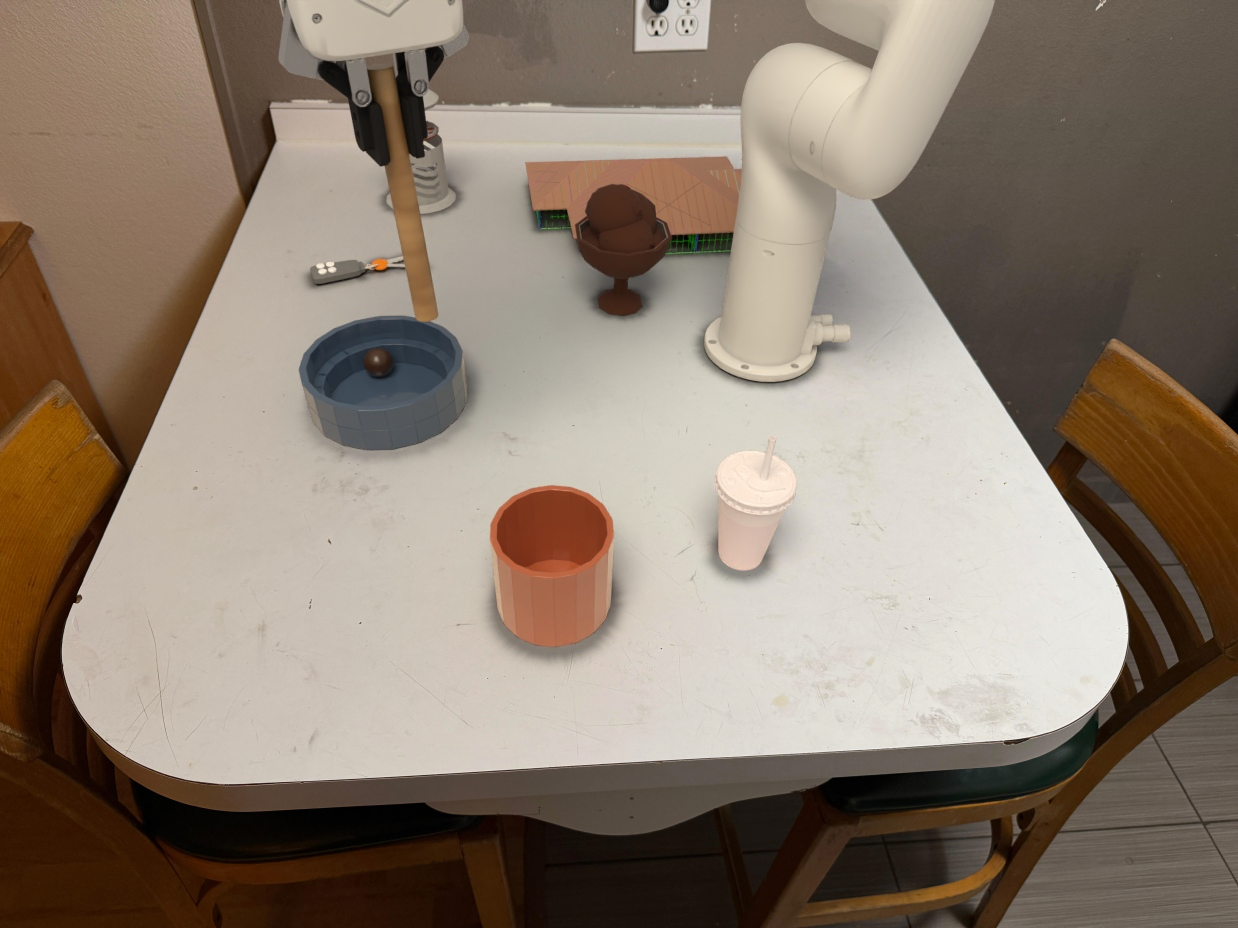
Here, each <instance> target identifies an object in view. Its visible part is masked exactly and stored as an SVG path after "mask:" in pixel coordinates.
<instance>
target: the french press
mask: <svg viewBox="0 0 1238 928" xmlns="http://www.w3.org/2000/svg"><path fill="white" fill-rule="evenodd" d="M439 97H440V96H439V94H437V93H436V92H434V91H433V90H431V89H430V88H429V90H428V92H427V94H426V95H424V96H423V100H424V108H425V112H426V111H428V110H431V109H433V108H434V107H435V106H437V104H439ZM426 124H427V131H428V137H427V139H423V142H425V143H427V144H429V145H430V146H432V147H434V148H430V147H429V146H427V145H426V144H424V151H425V157H423V158H418V159H417V158H415V157H413V156H412V155H410V154H409V155H410V160H411V166H415V165H416V166H420V167H423V168H419V167H416V168H414V167H412V171H413V177H414V182H415V188H416V193H417V199H418V204H419V210H420V215H424V214H432V213H436V212H437V213H438V212H440V211H444V210H445V209H447V208H449V207H451V206H452V205H453V204H454V202H455V201H456V200H457V195H456V192H455V191H454V190H453V189H452V188H450V187H449V185H448V179H447V178H448V177H447V170H446V161H445V152H444V145H443V144H444V143H443V138H442V137H441V135H440V134H438V133H439V129H440V127H439V126H438V125H437V124H435V123H434V122H432V121H429V120H426ZM435 165H436V166H437V167H435ZM425 168H428V169H429V170H431V171H428V170H427V169H425ZM437 175H438V176H437ZM386 204H387V205H388V206H389V207H390V208H391V210H393V205H392V200H391V195H390V192H389V193H388V195H387V196H386Z"/></svg>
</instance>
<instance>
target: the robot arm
mask: <svg viewBox="0 0 1238 928" xmlns="http://www.w3.org/2000/svg"><path fill="white" fill-rule="evenodd" d="M995 2H996V0H804V3H805V6H806V9H807V11H808V13H809V15H810V16H811V17H812V18H813V19H814V20H815V22H816V23H818V24H819V25H821V26H823V27H824V28H826V29H828V30H829V31H832V32H833V33H835V34H837V35H839V36H841V37H844V38H847V39H849V40H850V41H854V42H856V43H858V44H861V45H864V46H866V47H869V48H871V49H873V50H875V51H878V52H877V55H876V57H875V61H874V63H873V66H872V68H870V67H868V66H865V65H863V64H861V63H860V62H858V61H856V60H853V59H852V58H849V57H847V56H845V55H842V54H840V53H837V52H835V51H832V50H830V49H827V48H825V47H822V46H819V45H815V44H812V43H805V42H792V43H791V42H789V43H785V44H782V45H780V46H779V45H778V46H777V47H775V48H773V49H771V50H769V51H768V52H767V53H765V54H764V55H763V56H762V57H761V58H760V59H759V60H758V61H757V63H756V64H755V65H754V67H753V68H752V70H751V71H750V73H749V74H748V77H747V79H746V82H745V84H744V88H743V92H742V98H741V104H740V117H739V118H740V119H739V120H740V139H741V169H742V173H741V185H740V193H739V201H738V208H737V215H736V220H735V227H734V232H732V239H731V240H732V241H731V247H730V250H731V251H730V255H729V262H728V269H727V275H726V283H725V289H724V296H723V303H722V310H721V316H719V317H718V318H715V319H714V320H713V321H711V322H710V323H709V324H708V326H707V327H706V330H705V333H704V338H703V339H704V340H703V346H704V351H705V353H706V355H707V357H708V358H709V359H710V360H711V361H712V363H714V364H715V365H716V366H717V367H718V368H720V369H722V370H723V371H725V372H726V373H728V374H730V375H733V376H735V377H737V378H740V379H744V380H747V381H752V382H753V381H754V382H759V383H760V382H762V383H777V382H778V383H779V382H785V381H789V380H793V379H795V378H798V377H800V376H801V375H804V374H805V373H807V372H808V371H809V370H810V369H811V368H812V367H813V365H814V363H815V361H816V357H817V353H818V346H820V345H822V343H823V342H831V343H848V342H849V341H850V339H851V327H850V325H849V324H848V323H847V324H846V323H843V324H833V322H834V317H833V315H832V314H816V315H815V314H813V313H812V312H813V308H814V304H815V299H816V296H817V291H818V287H819V283H820V278H821V274H822V271H823V270H822V269H823V266H824V262H825V261H824V260H825V258H826V257H825V256H826V253H827V249H828V244H829V240H830V235H831V232H832V228H833V224H834V219H835V215H836V207H837V191H839V192H840V193H843V194H845V195H847V196H849V197H851V198H854V199H857V200H862V201H863V200H864V201H866V200H867V201H869V200H877V199H879V198H883V197H884V196H886V195H888V194H889V193H891V192H892V191H894V190H895V189H896V188H898V187H899V186H900V184H901V183H902V182H903V181H904V180H905V179H906V178H907V177H908V175H909V174H910V173H911V171H912V170H913V169H914V167H915V166H916V164H917V163H918V162H919V159H920V158H921V157H922V154H923V152H924V150H925V149H926V147H927V145H928V143H929V141H930V140H931V138H932V135H933V133H934V131H935V130H936V128H937V126H938V124H939V122H940V120H941V118H942V116H943V114H944V112H945V110H946V109H947V106H948V105H949V102H950V100H951V99H952V97H953V94H954V92H955V90H956V88H957V87H958V85H959V83H960V82H961V79H962V77H963V75H964V73H965V72H966V69H967V67H968V65H969V64H970V61H971V60H972V58H973V56H974V53H975V51H976V50H977V48H978V46H979V43H980V41H981V39H982V38H983V35H984V33H985V30H986V28H987V26H988V24H989V22H990V19H991V15H992V12H993V9H994V6H995ZM278 3H279V7H280V11H281V15H282V27H281V35H280V41H279V49H278V56H277V58H278V62H279V65H281V66H282V67H283V69H285V70H286V71H287V73H290V74H292V75H296V76H299V77H304V78H308V79H312V80H319V81H323V82H325V83H327V84H328V85H329V86H331V87H332V88H334V89H335V90H336V91H337V92H339V93H340V94H342V95H343V96H344V97H346V98H347V101H348V107H349V112H350V118H351V123H352V127H353V128H352V129H353V134H354V137H355V142H356V145H357V147H358V148H359V149H360V151H362V153H363V152H365V153H366V154H367V155H368V156H369V157H370V158H371V159H372V160H373V161H374V162H375V163H376V164H377V165H378V166H379V168H380V167H381V168H382V167H385V166H386V165H388V163H390V154H389V148H388V142H387V136H386V129H385V123H384V117H383V111H382V108H381V106H380V105H379V104H378V103H377V102H376V101H375V100H374V96H373V92H371V89H370V84H369V78H368V72H367V67H366V66H367V62H366V58H371V57H372V58H373V57H378V56H385V55H390V54H392V60H393V67H394V72H395V78H396V83H397V89H398V94H399V100H400V105H401V111H402V116H403V122H404V127H405V133H406V138H407V144H408V149H409V154H410V155H412V156H413V157H415V158H417V159H418V158H423V157H425V151H426V150H425V149H424V145H425V144H424V141H423V139H427V137H428V131H427V124H426V121H427V117H426V111H425V108H424V100H423V96H424V95H426V94H427V92H428V90H429V89H430V82H431V80H432V79H433V77H434V76H435V74H436V72H437V71H438V70H439V68H440V67H441V66H442V64H443V63H444V60H445V59H447V58H450V57H451V56H452V55H454V54H456V53H457V52H458V51H460V50H461V49H463V48H465V47H466V46H467V45H468V44H469V43H470V35H469V32H468V30H467V28H466V25H465V23H464V6H463V0H278Z"/></svg>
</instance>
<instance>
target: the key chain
mask: <svg viewBox="0 0 1238 928" xmlns="http://www.w3.org/2000/svg"><path fill="white" fill-rule="evenodd" d="M402 261H404V260H403V255H400V256H396V257H393V258H388V259H383V258H377V259H374V260H373V261H372V262H371V263H368V264H366V266H365V263H364V262H362V261H359V260H357V259H348V260H341V261H328V262H326V263H321V262H319V263H316V264H314V265H312V266H310V267H309V271H310V275H311V279H312V282H313V283H314V284H315V285H320V284H327V283H332V282H337V281H342V280H346V279H350V278H356V277H358V276H361V275H362V273H365V272H366V271H367V270H368V269H369V270H370V271H374V270H377V271H383V270H386V269H387V268H405V264H404V263H399V262H402Z"/></svg>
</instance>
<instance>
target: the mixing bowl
mask: <svg viewBox="0 0 1238 928" xmlns="http://www.w3.org/2000/svg"><path fill="white" fill-rule="evenodd" d="M374 348H382V349H384V350H386V351H388V352H389V353H390V354H391V356H392V358H393V368H392V370H391V372H390V373H389V374H387V375H386V376H383V377H375V376H372V375H370V374H369V373H368V372H367V371H366V370H365V368H364V364H363V360H364V357H365V355H366V353H367V352H368V351H370V350H371V349H374ZM463 351H464V350H463V348H462V346H461V345H460V342H459V340H458V338H457V337H456V336H455V335H454V334H453V333H452V332H450V331H449V330H448V329H447V328H446V327H444V326H443V325H441V324H438V323H436V322H434V321H428V322H421V321H418V320H416V318H415V316H409V315H402V314H401V315H377V316H369V317H365V318H360V319H355V320H352V321H350V322H347V323H344V324H342V325H339V326H336V327H334V328H332V329H331V330H329V331H327V332H325V333H324V334H322V335H321V336H319V337H318V338H316V339H315V340H314V341H313V342H312V344H311V345H310V346H309V347H308V348H307V349H306V350H305V352H303V355H302V357H301V360H300V364H299V366H298V374H299V378H300V383H301V387H302V390H303V394H304V396H305V400H306V404H307V406H308V410H309V413H310V417H311V420H312V423H313V424H314V425H315V427H316V428H317V429H318V430H319V431H320V433H322V435H323V436H325V438H328V439H330V440H332V441H334V442H336V443H338V444H339V445H341V446H344V447H349V448H355V449H360V450H365V451H382V450H383V451H384V450H385V451H386V450H396V449H401V448H405V447H409V446H413V445H418V444H421V443H422V442H425V441H427V440H429V439H431V438H433V437H435V436H437V435H440V434H441V433H443V432H444V431H445V430H446V429H447V428H449V427H450V426H451V425H452V424H454V422H456V421H457V420H458V418H459V417H460V415H461V414H462V411H463V409H464V408H465V407H466V405H467V399H468V397H467V396H468V385H467V384H468V383H467V375H466V368H465V358H464V352H463Z"/></svg>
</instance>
